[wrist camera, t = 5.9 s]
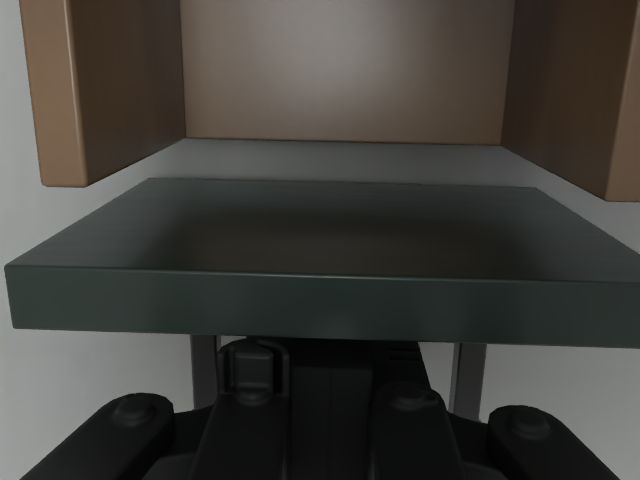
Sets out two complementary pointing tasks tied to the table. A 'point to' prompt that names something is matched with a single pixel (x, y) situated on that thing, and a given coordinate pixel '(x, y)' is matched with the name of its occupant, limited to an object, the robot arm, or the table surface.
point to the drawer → (336, 198)
